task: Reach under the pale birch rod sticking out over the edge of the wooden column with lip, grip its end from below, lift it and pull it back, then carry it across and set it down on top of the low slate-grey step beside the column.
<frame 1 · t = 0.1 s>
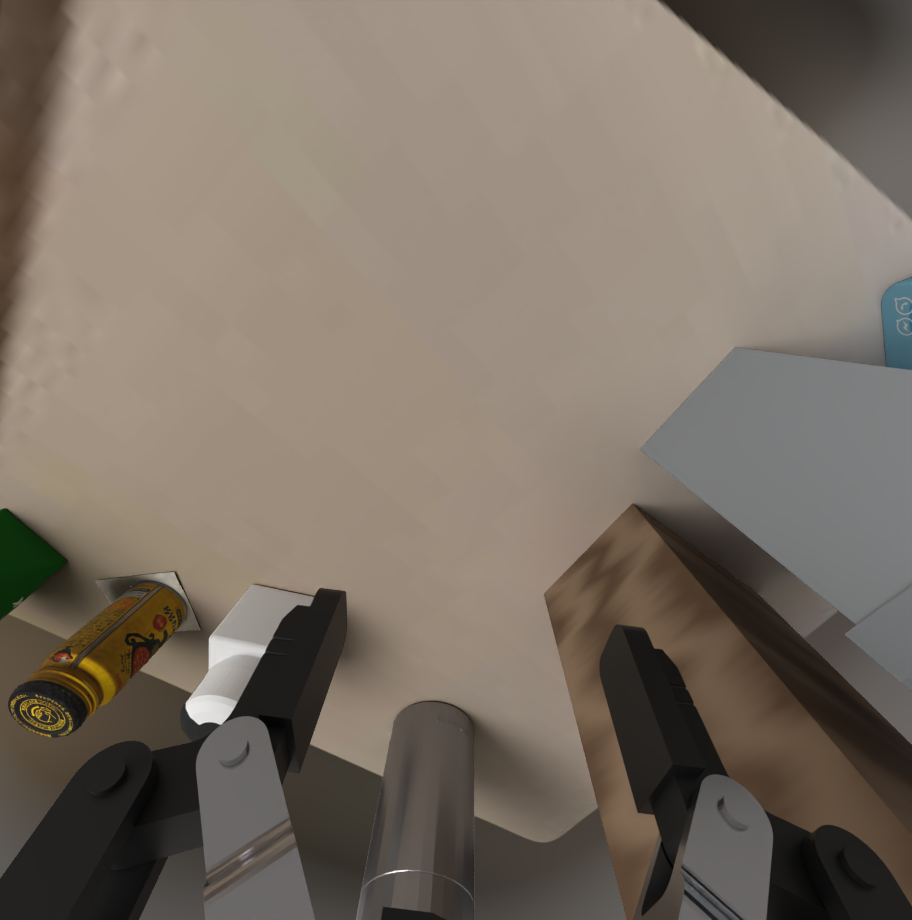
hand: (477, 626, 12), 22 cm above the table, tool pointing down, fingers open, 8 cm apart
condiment: (152, 602, 41), on the table
medicine bottle: (286, 616, 41), on the table
wooden column with lip: (649, 594, 38), on the table
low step: (771, 470, 33), on the table
milk carton: (20, 551, 39), on the table
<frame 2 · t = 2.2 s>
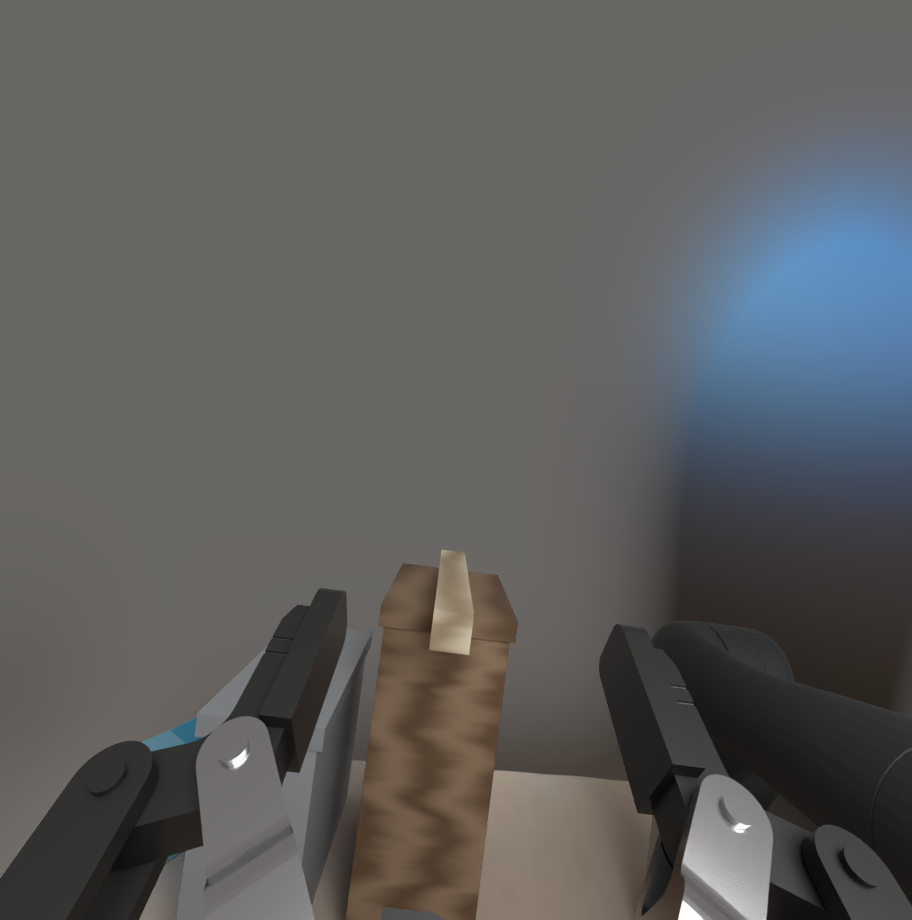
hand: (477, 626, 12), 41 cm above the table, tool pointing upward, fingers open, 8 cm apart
data package: (171, 843, 45), on the table
wooden column with lip: (413, 870, 45), on the table
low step: (278, 862, 44), on the table
birch rod: (449, 602, 41), point 32 cm above the table, touching wooden column with lip
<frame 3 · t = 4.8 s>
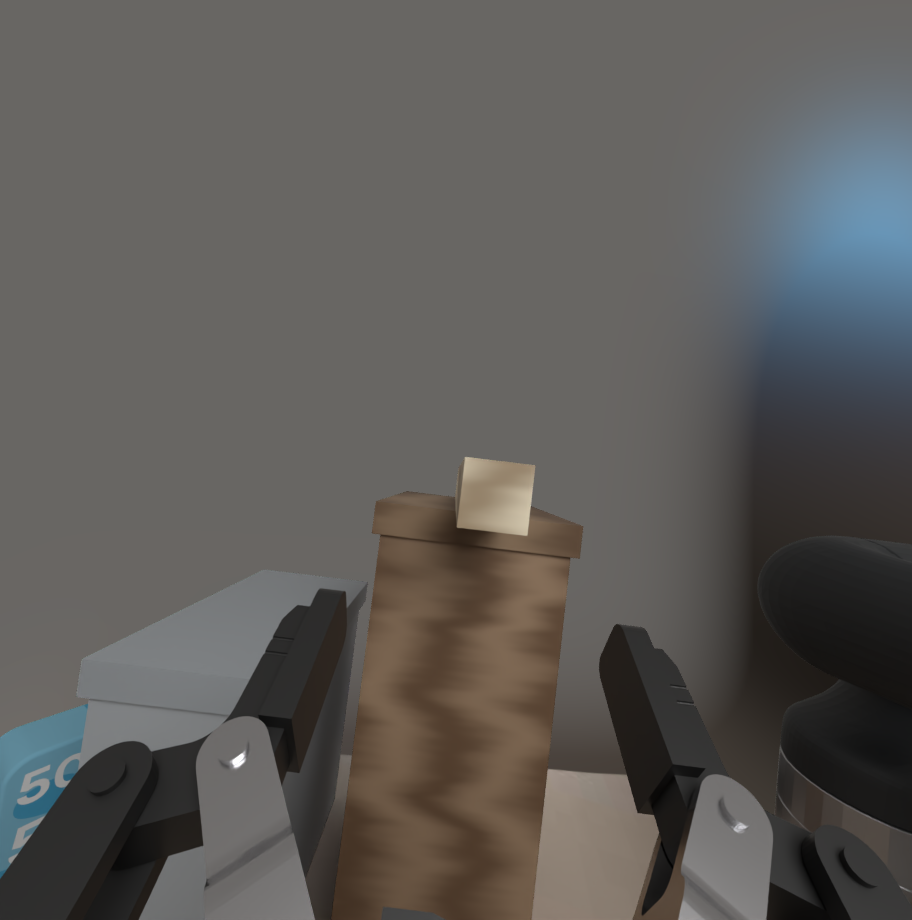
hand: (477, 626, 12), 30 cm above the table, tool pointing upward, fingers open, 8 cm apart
data package: (81, 866, 32), on the table
wooden column with lip: (425, 904, 32), on the table
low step: (231, 895, 31), on the table
birch rod: (476, 509, 28), point 32 cm above the table, touching wooden column with lip
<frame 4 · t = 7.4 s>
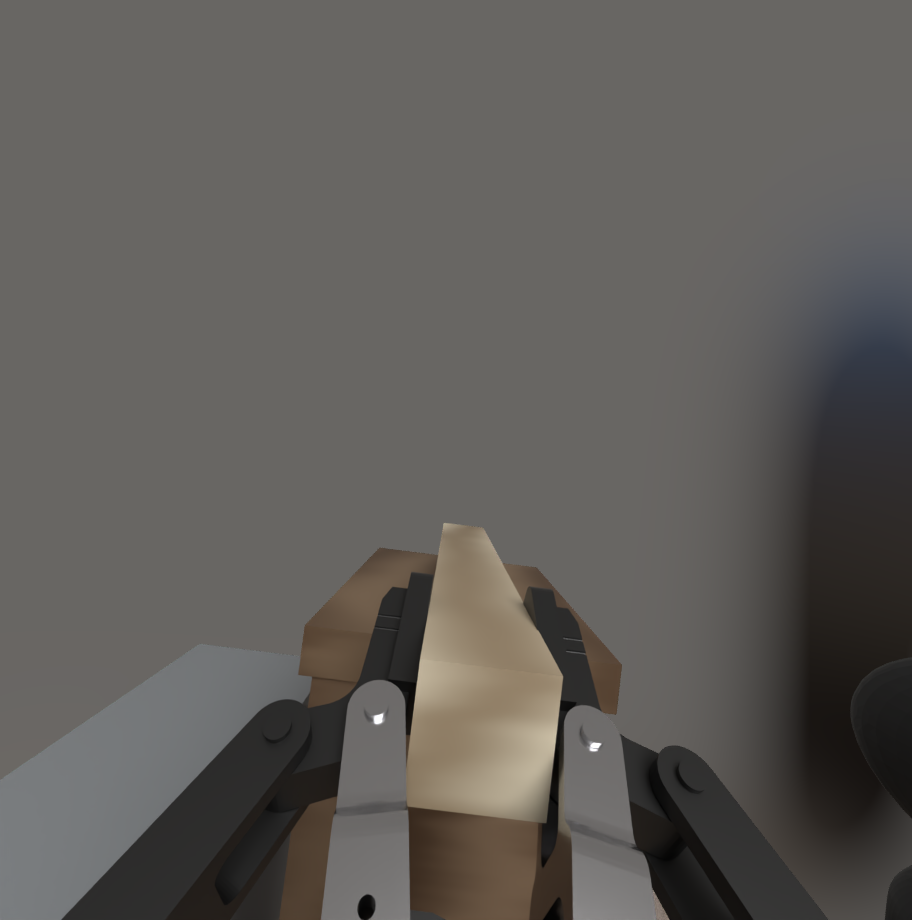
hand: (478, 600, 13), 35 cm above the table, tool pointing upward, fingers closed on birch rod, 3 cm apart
birch rod: (461, 618, 19), point 32 cm above the table, touching gripper, wooden column with lip
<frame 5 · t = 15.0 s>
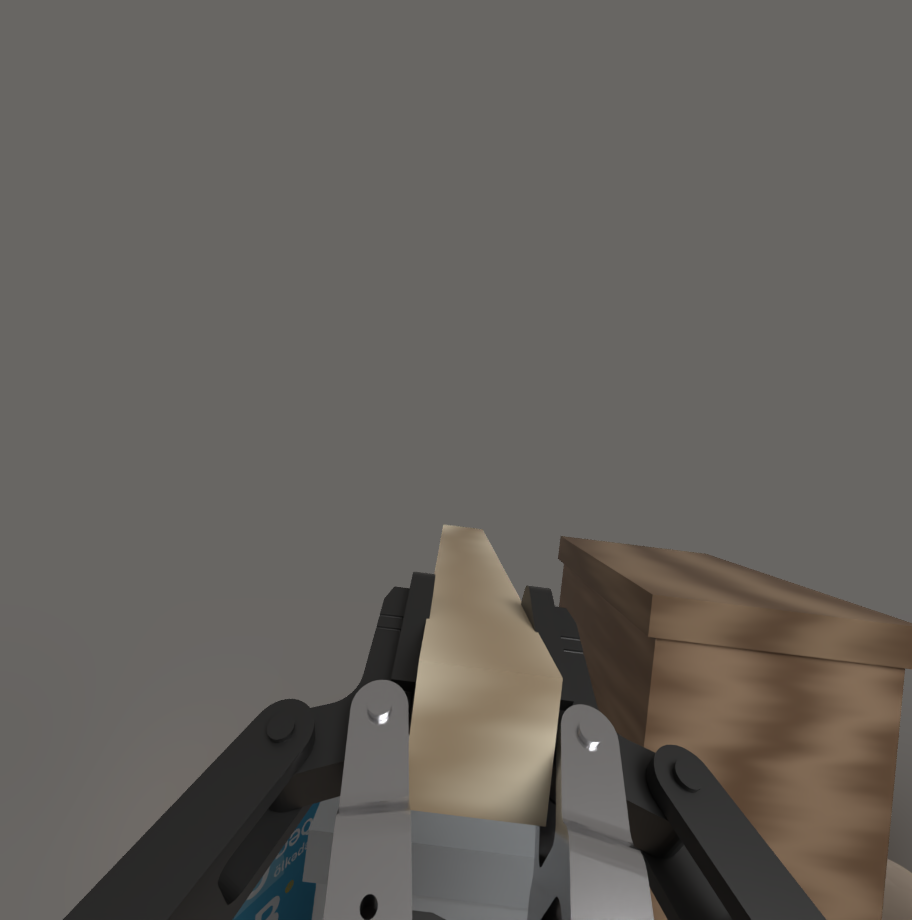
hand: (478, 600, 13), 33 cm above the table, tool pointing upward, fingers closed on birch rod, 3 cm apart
birch rod: (461, 619, 19), point 30 cm above the table, touching gripper
when the fingers open (26 cm above the table, at t = 17.1 s): birch rod drops 1 cm, resting on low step.
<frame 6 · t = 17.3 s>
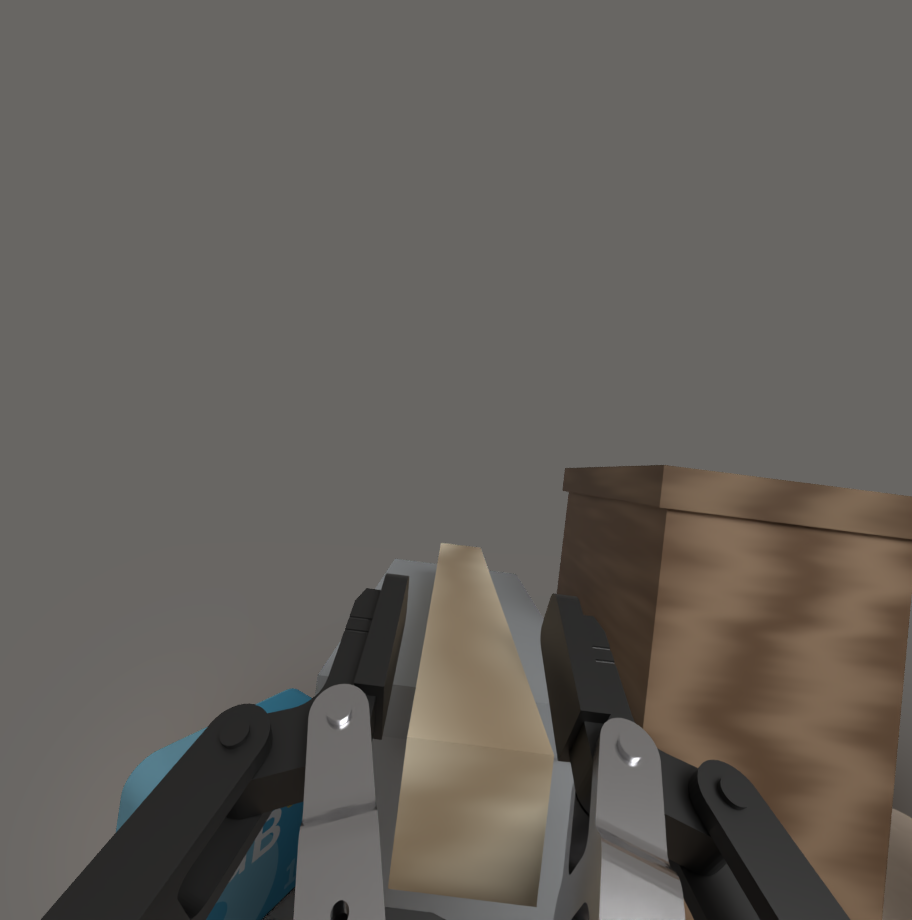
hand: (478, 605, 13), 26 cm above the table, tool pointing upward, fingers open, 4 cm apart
data package: (223, 918, 26), on the table
birch rod: (457, 650, 19), point 22 cm above the table, touching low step
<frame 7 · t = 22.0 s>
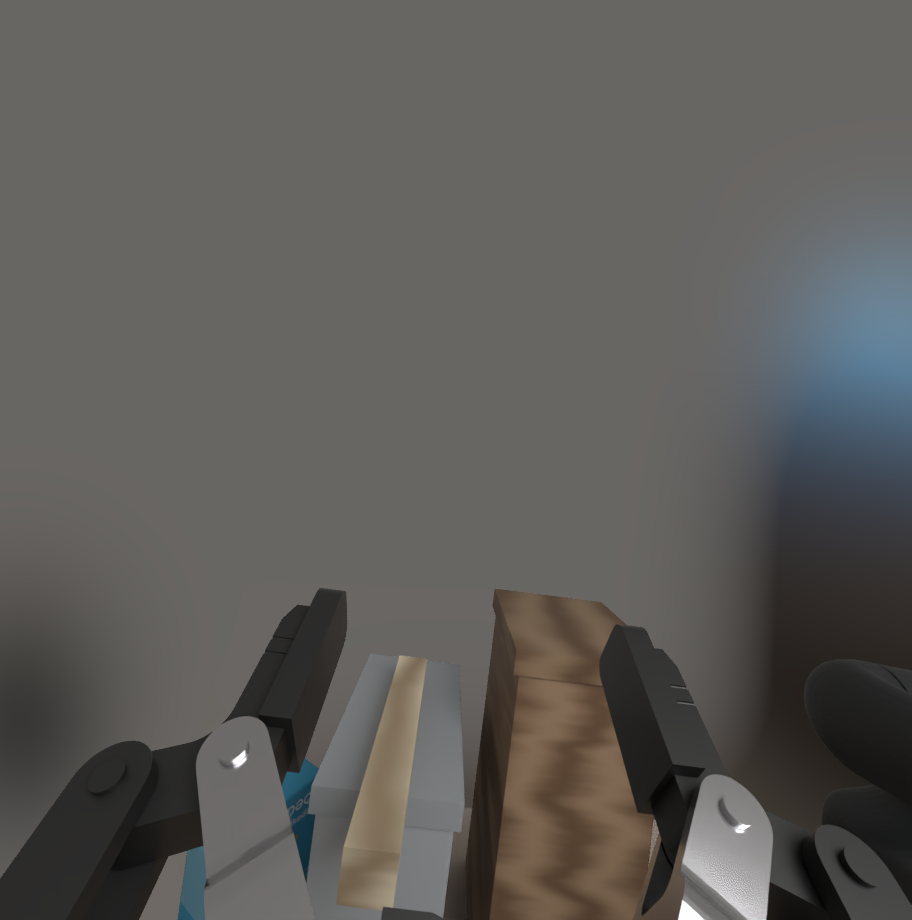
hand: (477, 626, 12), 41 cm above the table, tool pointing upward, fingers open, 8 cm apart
data package: (250, 917, 39), on the table
birch rod: (394, 758, 32), point 22 cm above the table, touching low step
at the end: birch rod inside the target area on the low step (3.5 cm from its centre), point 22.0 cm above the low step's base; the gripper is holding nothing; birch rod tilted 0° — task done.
